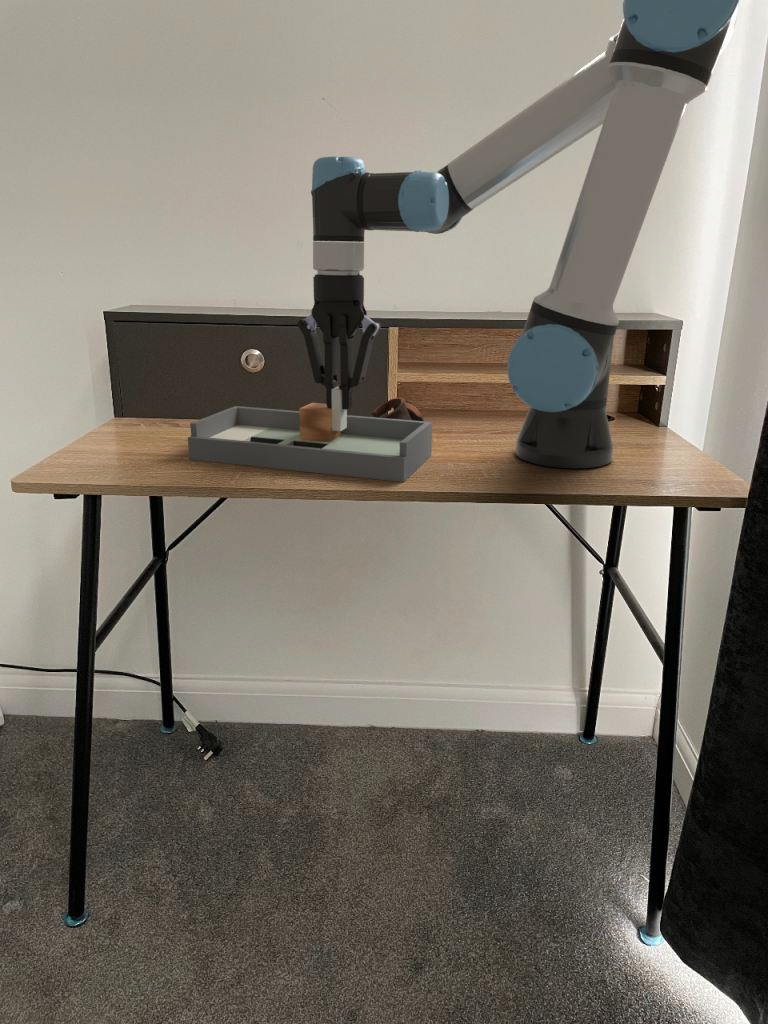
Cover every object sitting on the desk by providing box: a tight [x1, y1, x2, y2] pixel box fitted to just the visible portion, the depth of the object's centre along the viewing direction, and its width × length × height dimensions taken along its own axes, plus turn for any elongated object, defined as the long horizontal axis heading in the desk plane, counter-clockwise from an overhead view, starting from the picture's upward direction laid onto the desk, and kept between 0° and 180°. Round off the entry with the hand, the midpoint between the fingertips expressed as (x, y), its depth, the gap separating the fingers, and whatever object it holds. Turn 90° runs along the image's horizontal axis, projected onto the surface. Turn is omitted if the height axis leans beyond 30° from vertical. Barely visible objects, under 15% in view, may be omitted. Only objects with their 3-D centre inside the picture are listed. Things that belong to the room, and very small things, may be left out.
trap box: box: [187, 405, 433, 483], centre depth 116 cm, size 35×15×6 cm, turn 71°
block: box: [298, 402, 341, 442], centre depth 118 cm, size 5×5×5 cm
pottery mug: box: [369, 397, 425, 421], centre depth 129 cm, size 12×10×8 cm
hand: (339, 428), depth 117 cm, fingers closed
